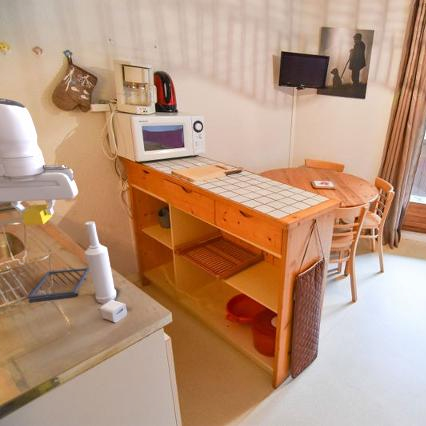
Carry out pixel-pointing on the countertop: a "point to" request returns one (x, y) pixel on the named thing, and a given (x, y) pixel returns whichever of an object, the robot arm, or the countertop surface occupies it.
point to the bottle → (99, 267)
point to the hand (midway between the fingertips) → (37, 214)
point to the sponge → (35, 215)
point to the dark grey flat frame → (55, 297)
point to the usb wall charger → (113, 311)
